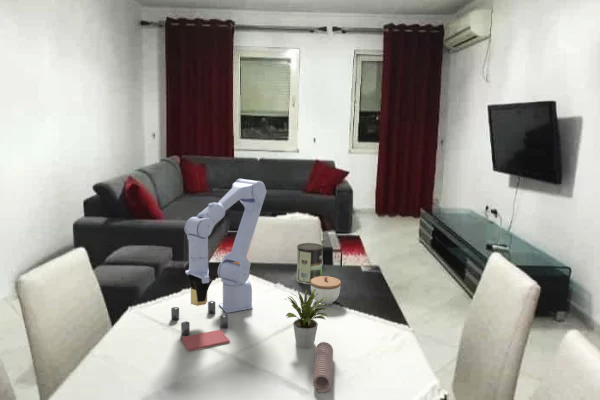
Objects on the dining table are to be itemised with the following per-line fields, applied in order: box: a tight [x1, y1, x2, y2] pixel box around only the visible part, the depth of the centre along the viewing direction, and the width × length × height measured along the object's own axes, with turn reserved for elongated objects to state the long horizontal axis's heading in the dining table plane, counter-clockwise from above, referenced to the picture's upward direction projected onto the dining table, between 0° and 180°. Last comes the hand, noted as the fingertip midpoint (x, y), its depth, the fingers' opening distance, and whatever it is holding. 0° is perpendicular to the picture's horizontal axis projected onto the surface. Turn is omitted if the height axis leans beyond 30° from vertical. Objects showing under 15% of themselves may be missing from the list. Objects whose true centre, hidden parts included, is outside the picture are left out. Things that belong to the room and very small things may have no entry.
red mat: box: [180, 328, 231, 352], centre depth 138 cm, size 12×8×1 cm, turn 119°
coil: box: [312, 341, 334, 394], centre depth 122 cm, size 5×5×18 cm
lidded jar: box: [310, 275, 342, 305], centre depth 168 cm, size 11×11×9 cm
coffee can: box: [296, 242, 324, 285], centre depth 190 cm, size 10×10×14 cm
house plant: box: [285, 288, 332, 349], centre depth 135 cm, size 14×14×16 cm
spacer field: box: [170, 300, 229, 337], centre depth 149 cm, size 14×14×4 cm
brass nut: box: [190, 285, 208, 307], centre depth 148 cm, size 5×4×5 cm
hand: (199, 298), depth 148 cm, fingers closed on brass nut, 4 cm apart
